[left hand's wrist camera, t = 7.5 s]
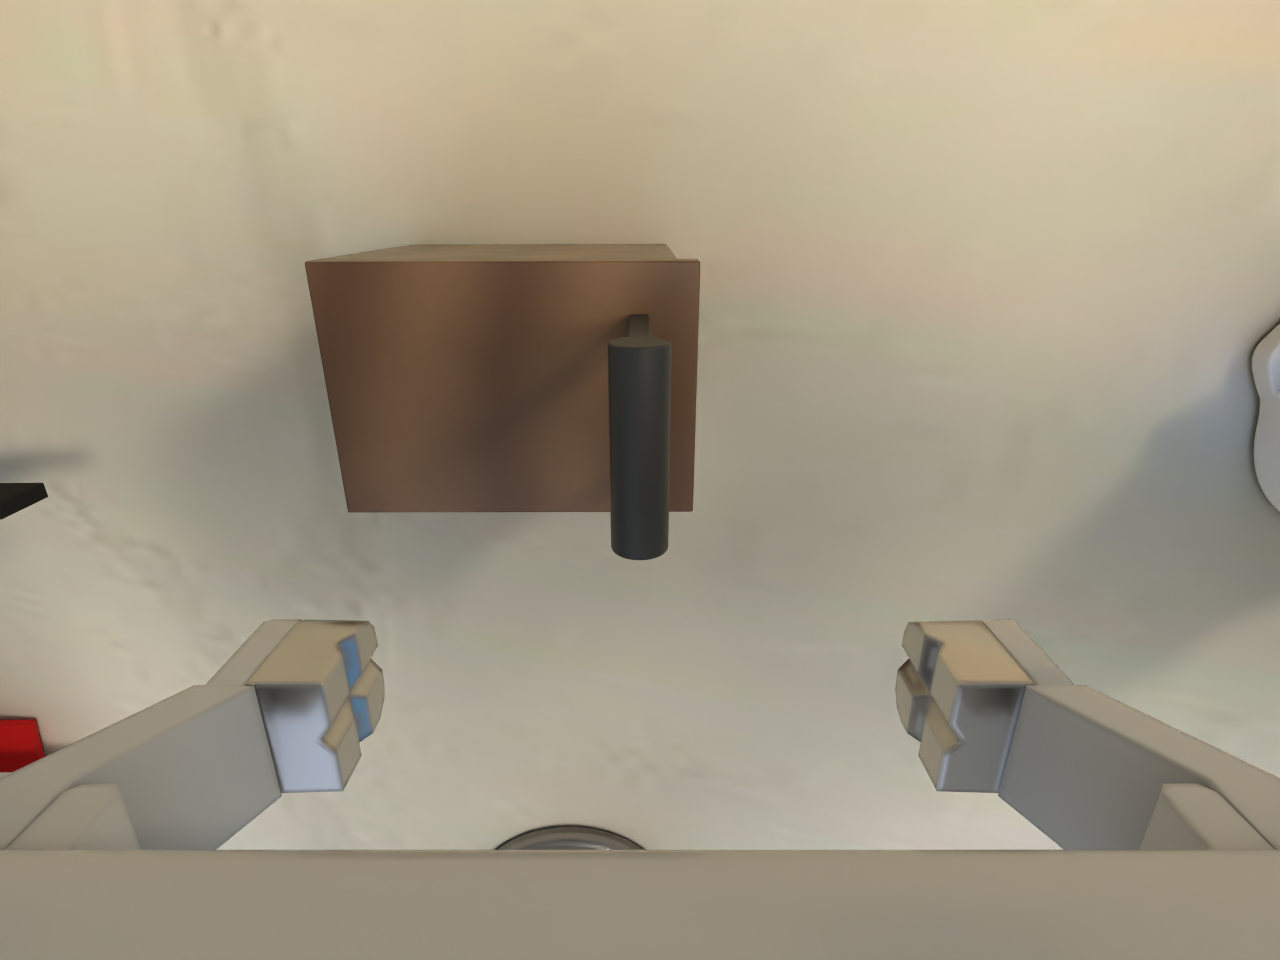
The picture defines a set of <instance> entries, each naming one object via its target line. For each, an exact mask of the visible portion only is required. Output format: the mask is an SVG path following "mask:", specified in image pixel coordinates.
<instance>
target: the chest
mask: <svg viewBox="0 0 1280 960" xmlns="http://www.w3.org/2000/svg"><path fill="white" fill-rule="evenodd" d="M412 259H677V258H676V257H675V256H674V254H673V253H672V252H671V251H670V249H669V248H668V247H667V245H665V244H572V245H408V246H401V247H395V248H388V249H382V250H376V251H369V252H363V253H357V254H350V255H344V256H337V257H331V258H325V259H319V260H412Z"/></svg>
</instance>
